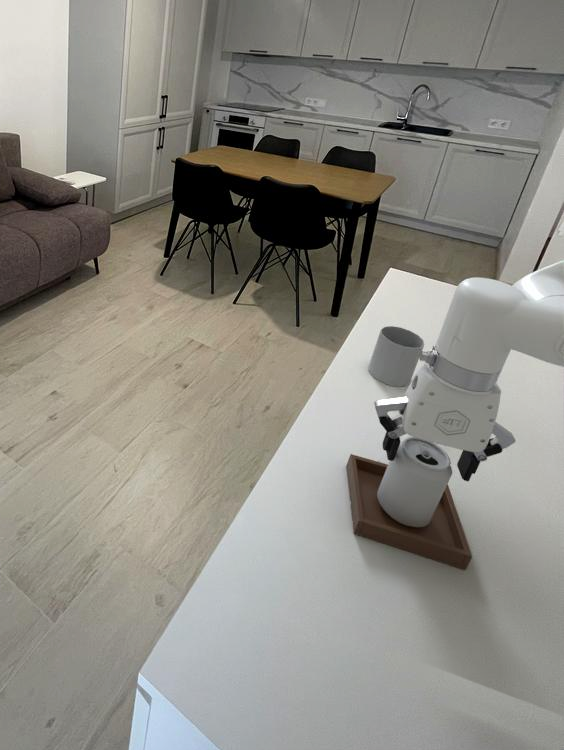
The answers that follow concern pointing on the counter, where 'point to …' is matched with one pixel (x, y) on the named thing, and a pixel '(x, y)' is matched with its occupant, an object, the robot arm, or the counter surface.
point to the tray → (373, 522)
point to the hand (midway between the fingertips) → (424, 463)
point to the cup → (395, 356)
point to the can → (414, 482)
